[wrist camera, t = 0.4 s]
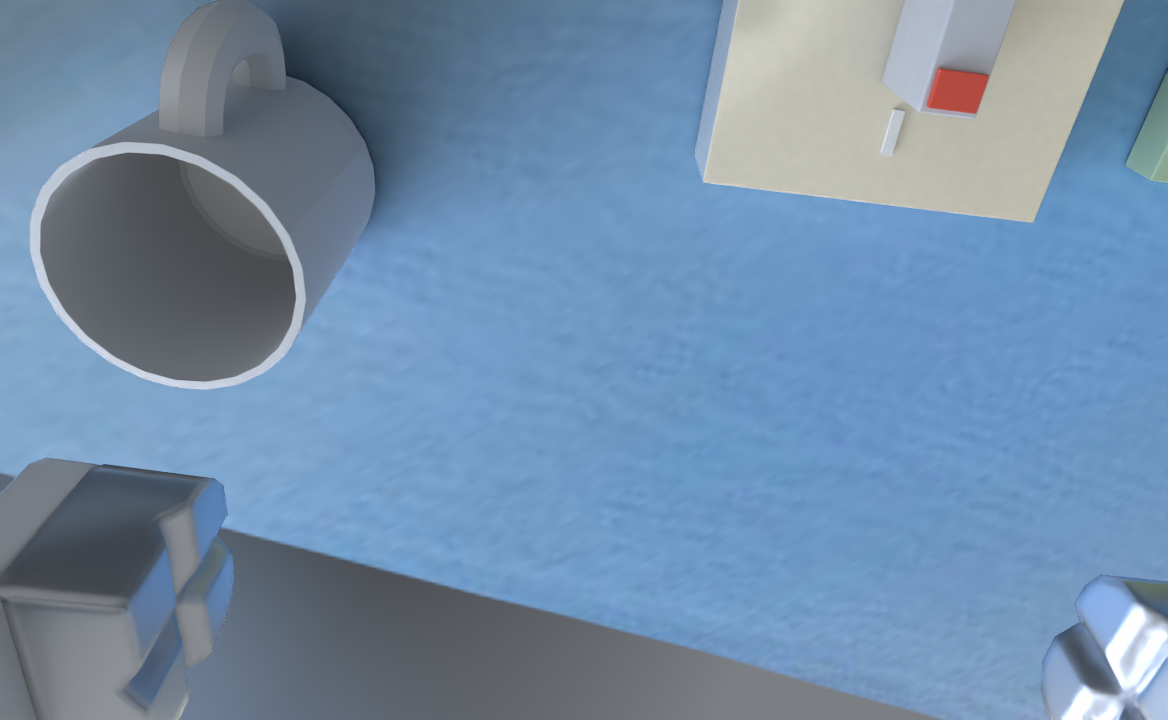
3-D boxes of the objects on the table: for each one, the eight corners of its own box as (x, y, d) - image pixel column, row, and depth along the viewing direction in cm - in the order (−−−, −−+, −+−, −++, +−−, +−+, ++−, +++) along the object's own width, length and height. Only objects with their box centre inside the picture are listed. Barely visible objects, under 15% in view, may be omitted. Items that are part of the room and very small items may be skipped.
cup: (179, 244, 32) (46, 365, 24) (165, -45, 27) (-8, -6, 19) (372, 279, 33) (302, 408, 25) (393, 3, 28) (314, 58, 20)
